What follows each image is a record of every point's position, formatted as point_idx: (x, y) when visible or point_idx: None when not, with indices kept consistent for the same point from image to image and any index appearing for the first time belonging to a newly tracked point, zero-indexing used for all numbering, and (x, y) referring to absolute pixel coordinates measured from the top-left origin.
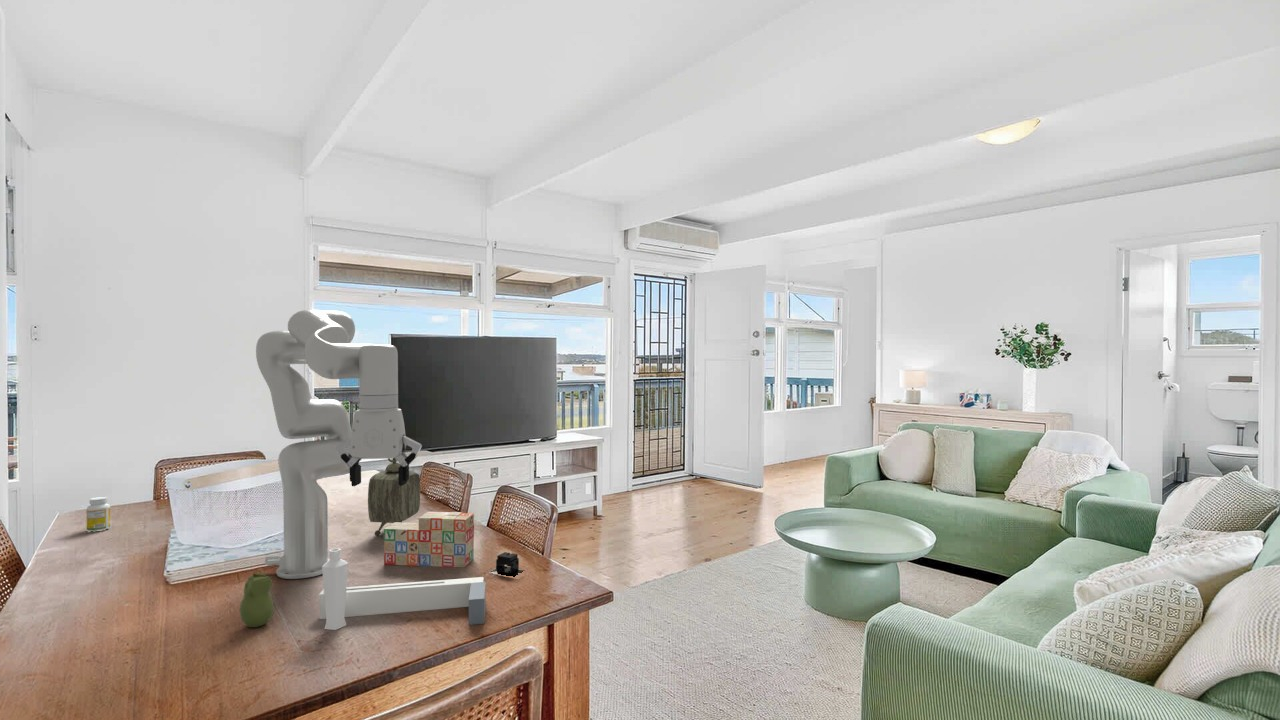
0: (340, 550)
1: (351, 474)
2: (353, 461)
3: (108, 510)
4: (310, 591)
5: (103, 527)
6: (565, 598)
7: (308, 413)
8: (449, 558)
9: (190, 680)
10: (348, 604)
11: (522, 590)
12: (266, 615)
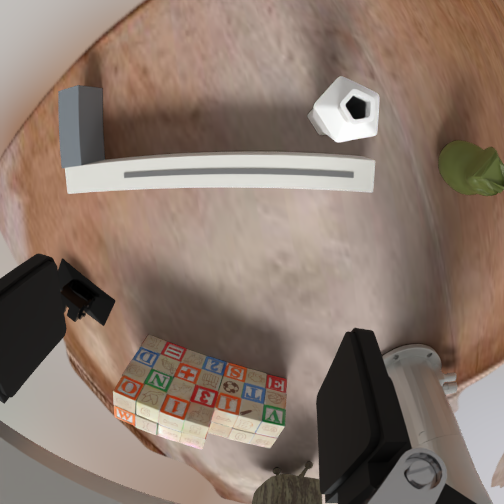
0: (341, 103)
1: (392, 389)
2: (395, 499)
3: None
4: (395, 292)
5: None
6: (8, 175)
7: None
8: (169, 353)
9: (463, 13)
10: (313, 154)
11: (50, 214)
12: (445, 147)
